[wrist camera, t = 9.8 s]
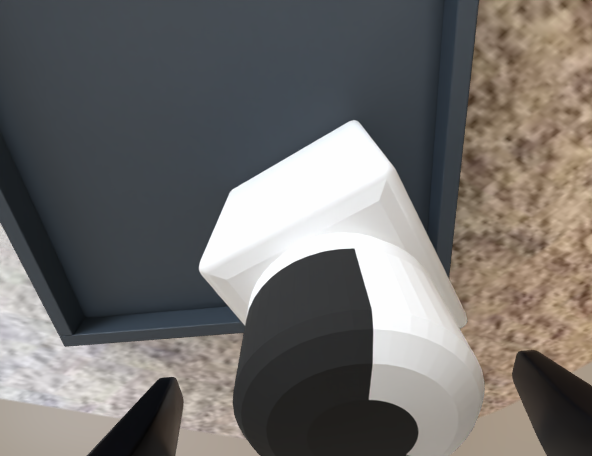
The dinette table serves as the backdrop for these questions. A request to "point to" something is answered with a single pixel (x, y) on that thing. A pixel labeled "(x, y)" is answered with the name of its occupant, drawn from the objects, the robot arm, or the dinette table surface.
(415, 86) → the tray
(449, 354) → the medicine bottle
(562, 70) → the dinette table surface
